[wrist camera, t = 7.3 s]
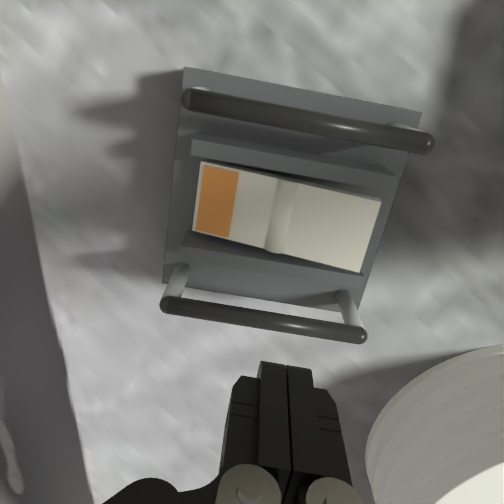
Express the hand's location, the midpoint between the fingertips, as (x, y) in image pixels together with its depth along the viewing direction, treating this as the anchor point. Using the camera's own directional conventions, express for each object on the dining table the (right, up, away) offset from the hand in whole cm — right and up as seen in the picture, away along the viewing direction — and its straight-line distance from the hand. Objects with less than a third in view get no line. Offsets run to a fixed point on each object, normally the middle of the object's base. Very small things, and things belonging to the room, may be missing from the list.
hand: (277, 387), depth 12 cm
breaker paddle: (+1, +7, +16) cm, 17 cm away
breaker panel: (+1, +9, +21) cm, 23 cm away
